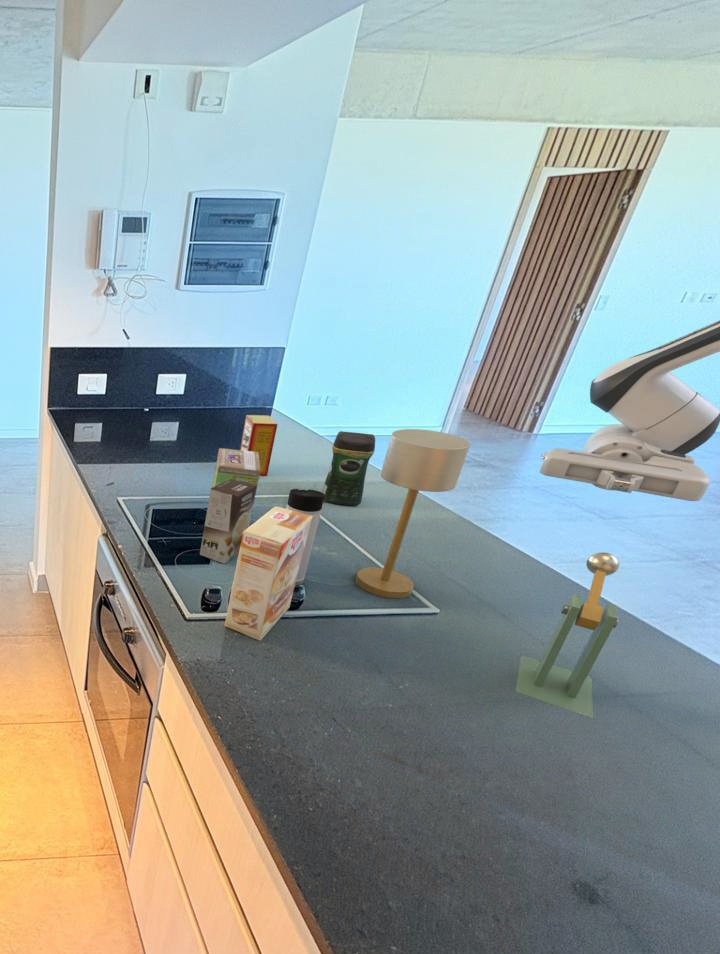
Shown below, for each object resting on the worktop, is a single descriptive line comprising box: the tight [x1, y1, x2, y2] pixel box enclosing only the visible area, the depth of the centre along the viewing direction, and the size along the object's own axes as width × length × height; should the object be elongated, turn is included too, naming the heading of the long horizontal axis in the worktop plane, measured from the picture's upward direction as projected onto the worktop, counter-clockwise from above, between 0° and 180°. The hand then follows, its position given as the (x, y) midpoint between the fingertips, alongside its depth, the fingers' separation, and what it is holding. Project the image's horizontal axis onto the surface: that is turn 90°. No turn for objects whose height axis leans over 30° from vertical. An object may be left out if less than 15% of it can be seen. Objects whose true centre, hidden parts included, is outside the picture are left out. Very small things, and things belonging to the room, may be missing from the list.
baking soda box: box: [239, 414, 278, 477], centre depth 182 cm, size 10×6×16 cm
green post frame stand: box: [515, 593, 620, 719], centre depth 93 cm, size 12×9×16 cm
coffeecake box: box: [224, 505, 313, 641], centre depth 111 cm, size 15×7×20 cm, turn 137°
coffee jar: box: [321, 430, 376, 506], centre depth 160 cm, size 10×8×19 cm
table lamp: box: [355, 428, 471, 599], centre depth 118 cm, size 12×12×31 cm
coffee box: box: [199, 479, 258, 565], centre depth 134 cm, size 9×6×16 cm
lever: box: [574, 551, 620, 631], centre depth 92 cm, size 13×4×4 cm
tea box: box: [211, 447, 261, 488], centre depth 155 cm, size 15×10×15 cm
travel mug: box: [285, 488, 325, 586], centre depth 123 cm, size 6×7×20 cm
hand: (620, 486), depth 99 cm, fingers closed
